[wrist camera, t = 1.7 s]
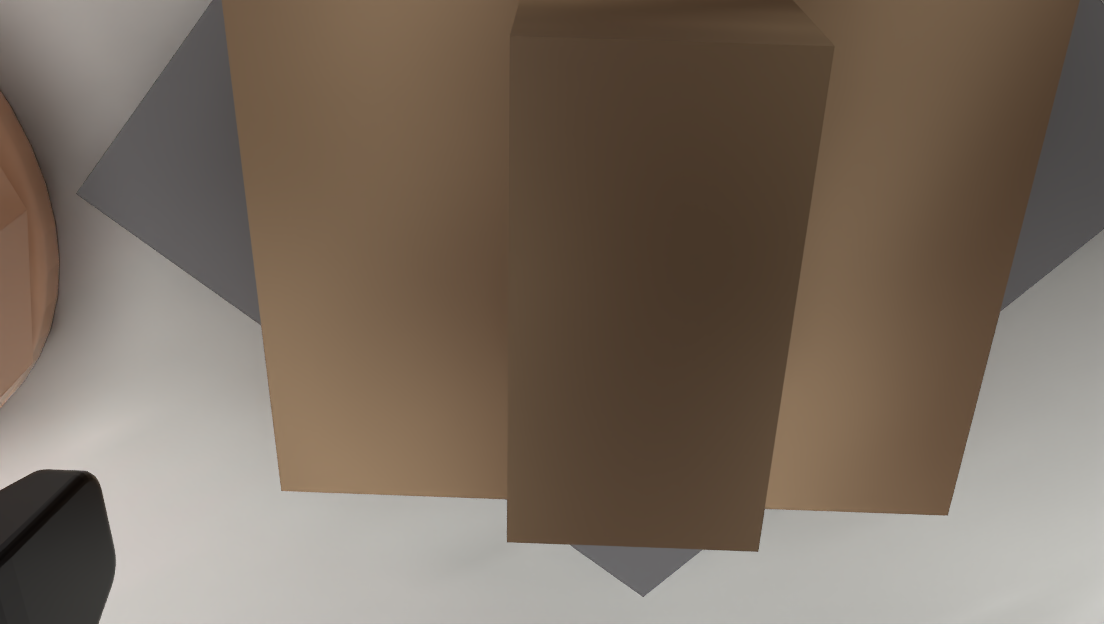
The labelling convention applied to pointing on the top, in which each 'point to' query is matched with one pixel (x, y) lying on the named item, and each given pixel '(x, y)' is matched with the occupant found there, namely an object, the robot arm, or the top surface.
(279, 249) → the ridged wooden block
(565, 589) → the top surface
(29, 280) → the bowl
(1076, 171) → the mat
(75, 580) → the robot arm
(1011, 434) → the top surface
